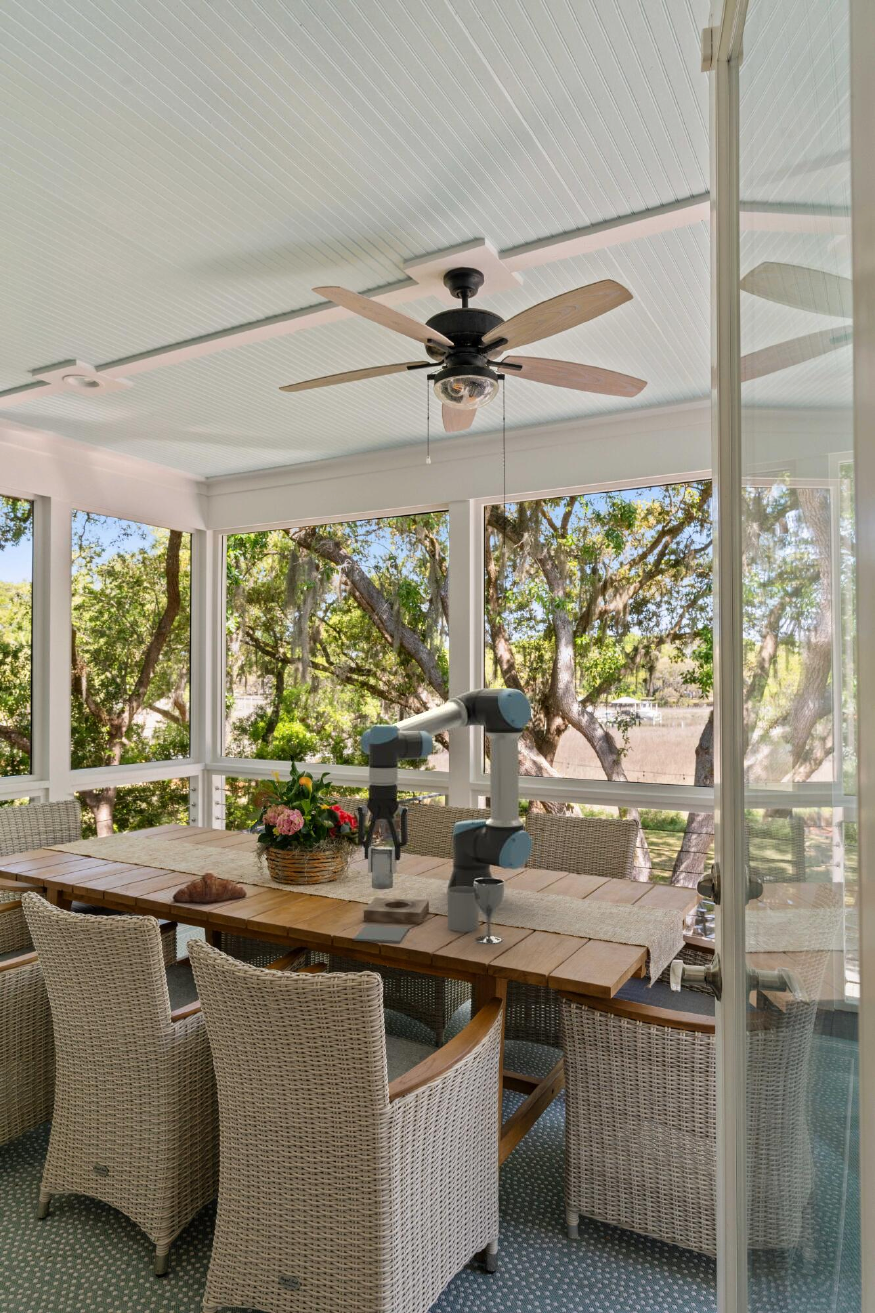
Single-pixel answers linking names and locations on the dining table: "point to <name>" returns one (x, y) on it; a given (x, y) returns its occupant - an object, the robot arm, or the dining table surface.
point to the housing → (396, 910)
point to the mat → (381, 934)
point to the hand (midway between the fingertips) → (382, 872)
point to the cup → (462, 909)
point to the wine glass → (489, 903)
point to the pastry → (209, 891)
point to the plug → (382, 867)
